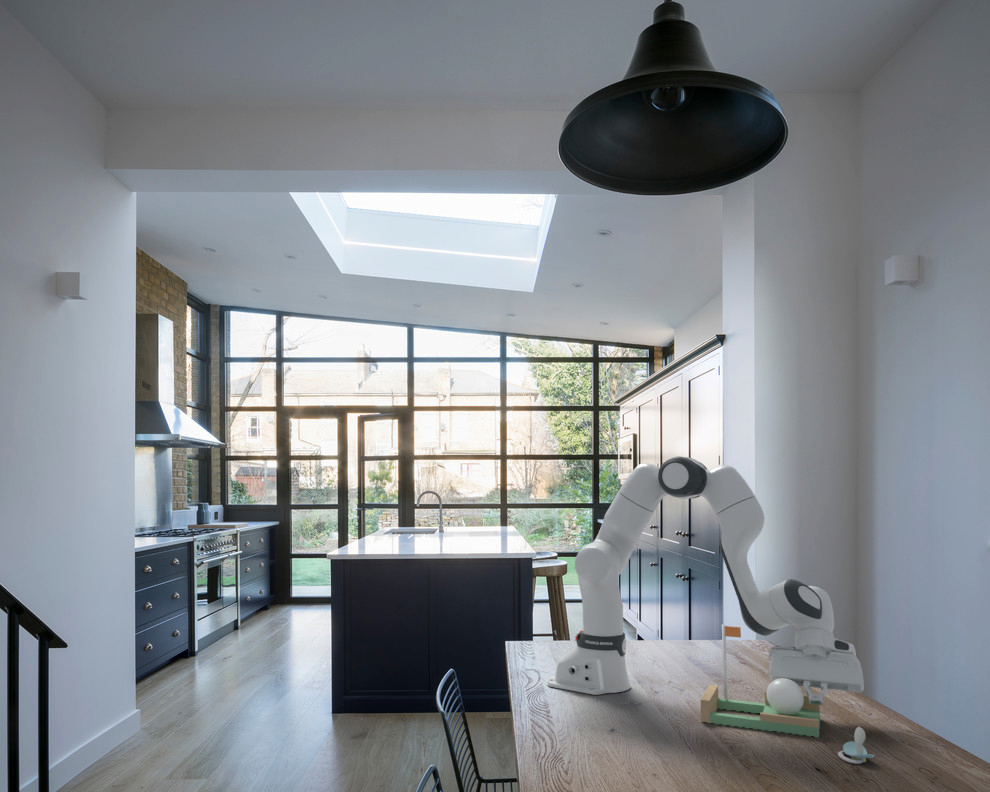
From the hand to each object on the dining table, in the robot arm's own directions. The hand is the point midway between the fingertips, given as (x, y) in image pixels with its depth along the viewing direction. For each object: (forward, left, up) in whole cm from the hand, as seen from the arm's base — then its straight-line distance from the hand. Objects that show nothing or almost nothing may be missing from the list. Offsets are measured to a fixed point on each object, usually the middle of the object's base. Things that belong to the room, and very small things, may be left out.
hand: (815, 702), depth 166 cm
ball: (-6, +1, +1) cm, 7 cm away
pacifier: (+7, -17, -6) cm, 19 cm away
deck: (-11, +1, -6) cm, 13 cm away
